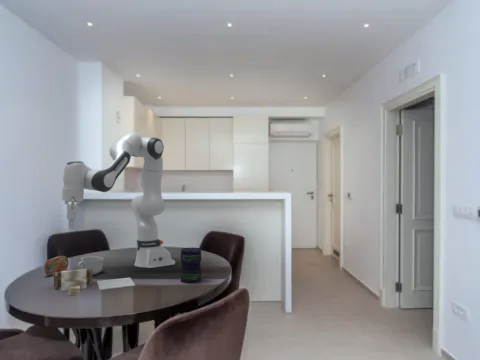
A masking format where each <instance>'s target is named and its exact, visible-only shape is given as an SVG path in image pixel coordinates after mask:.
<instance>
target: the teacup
mask: <svg viewBox="0 0 480 360" xmlns="http://www.w3.org/2000/svg"><path fill="white" fill-rule="evenodd" d="M103 267H104V257H102V256H98V255H97V256H95V255H91V256H84V257H81V258H80V261H79V262H78V263H77V270H79V269H92V276H94V275H98V274H99V273H100V272H102V270H103Z"/></svg>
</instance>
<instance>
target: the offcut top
mask: <svg viewBox="0 0 480 360" xmlns="http://www.w3.org/2000/svg"><path fill="white" fill-rule="evenodd" d="M79 290H80V291H81V289H80V286H73V287H70V291H79Z"/></svg>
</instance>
